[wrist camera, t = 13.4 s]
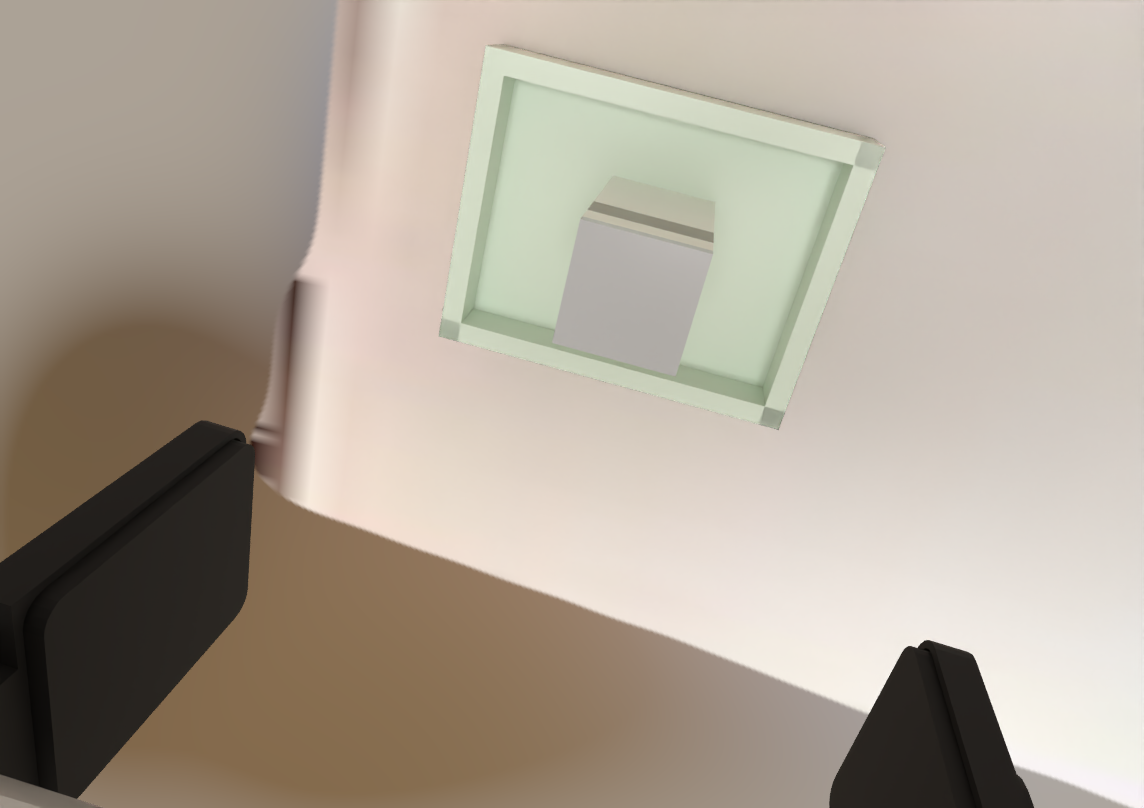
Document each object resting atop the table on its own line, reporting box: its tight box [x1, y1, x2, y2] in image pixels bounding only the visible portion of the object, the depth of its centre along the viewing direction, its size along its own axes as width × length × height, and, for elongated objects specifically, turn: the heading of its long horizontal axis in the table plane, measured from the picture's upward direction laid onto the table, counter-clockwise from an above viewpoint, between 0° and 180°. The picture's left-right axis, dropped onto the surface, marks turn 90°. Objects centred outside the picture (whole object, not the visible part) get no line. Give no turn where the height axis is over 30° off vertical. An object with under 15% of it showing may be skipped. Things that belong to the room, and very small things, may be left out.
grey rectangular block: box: [552, 176, 715, 376], centre depth 28 cm, size 4×4×8 cm
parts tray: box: [439, 44, 886, 430], centre depth 31 cm, size 14×11×2 cm
